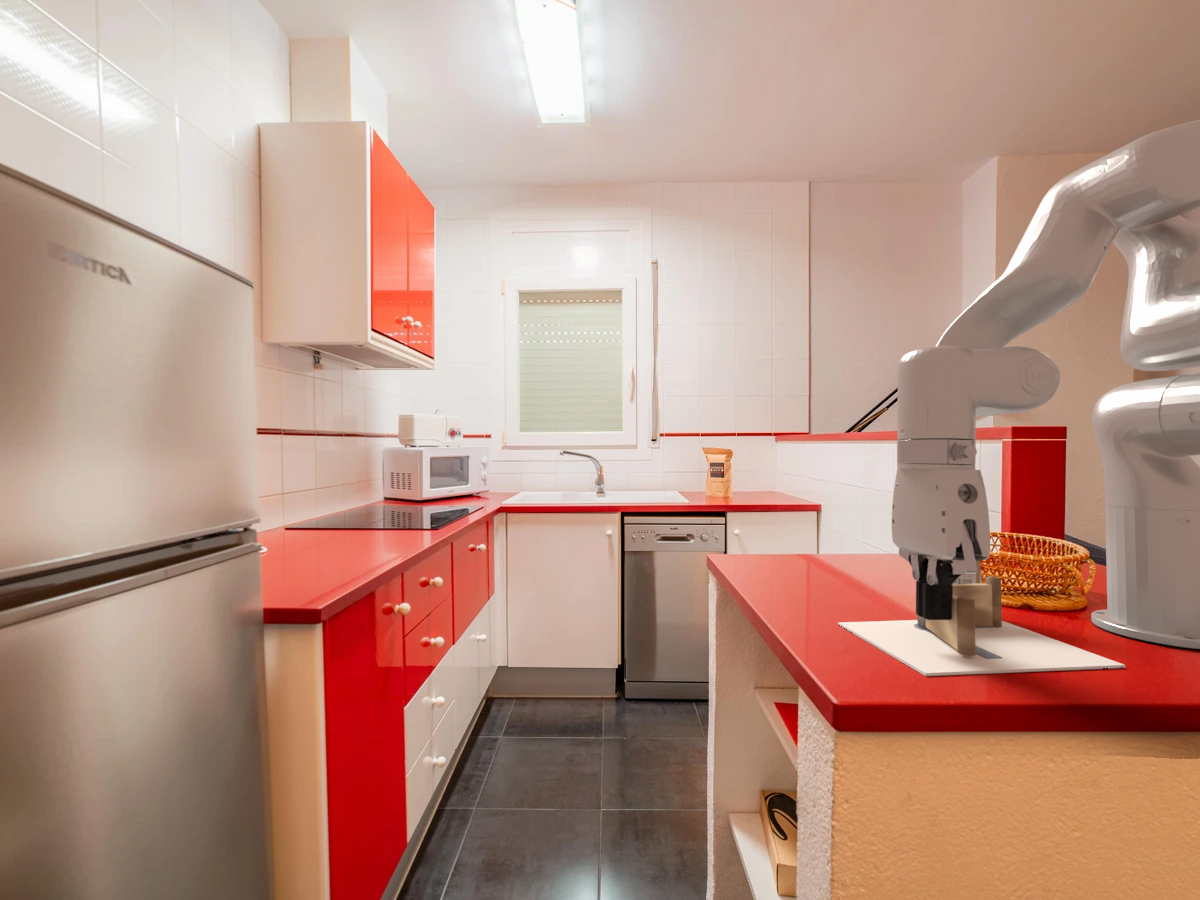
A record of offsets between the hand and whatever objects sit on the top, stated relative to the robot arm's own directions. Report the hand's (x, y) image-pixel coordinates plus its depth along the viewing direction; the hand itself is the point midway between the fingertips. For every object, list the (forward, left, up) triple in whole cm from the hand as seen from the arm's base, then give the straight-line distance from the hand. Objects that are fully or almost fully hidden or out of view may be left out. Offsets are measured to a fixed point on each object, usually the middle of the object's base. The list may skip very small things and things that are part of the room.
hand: (934, 617), depth 58 cm
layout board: (-5, -2, -4) cm, 6 cm away
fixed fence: (-9, -7, -4) cm, 12 cm away
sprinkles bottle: (-14, -13, -4) cm, 19 cm away
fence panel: (-3, -1, -3) cm, 4 cm away
